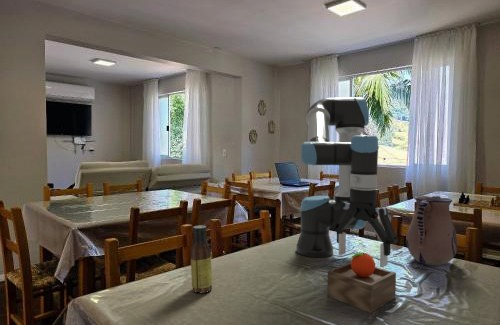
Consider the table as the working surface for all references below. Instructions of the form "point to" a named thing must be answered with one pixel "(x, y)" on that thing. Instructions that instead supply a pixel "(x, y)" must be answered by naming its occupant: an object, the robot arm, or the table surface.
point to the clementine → (362, 264)
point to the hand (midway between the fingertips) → (361, 259)
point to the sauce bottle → (201, 261)
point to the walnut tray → (361, 287)
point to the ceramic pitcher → (432, 231)
